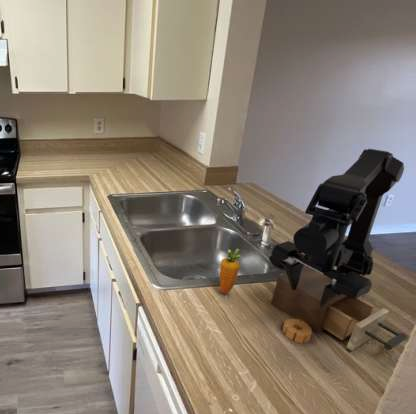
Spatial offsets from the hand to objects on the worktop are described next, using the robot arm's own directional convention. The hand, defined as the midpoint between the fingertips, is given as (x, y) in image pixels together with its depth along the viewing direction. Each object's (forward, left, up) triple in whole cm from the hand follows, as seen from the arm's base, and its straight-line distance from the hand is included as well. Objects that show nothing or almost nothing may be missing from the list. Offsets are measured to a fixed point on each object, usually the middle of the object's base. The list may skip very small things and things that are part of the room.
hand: (307, 297), depth 77 cm
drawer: (-11, +6, -10) cm, 16 cm away
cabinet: (-11, -4, -11) cm, 16 cm away
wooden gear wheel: (0, 0, -11) cm, 11 cm away
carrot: (+4, -19, -11) cm, 22 cm away
